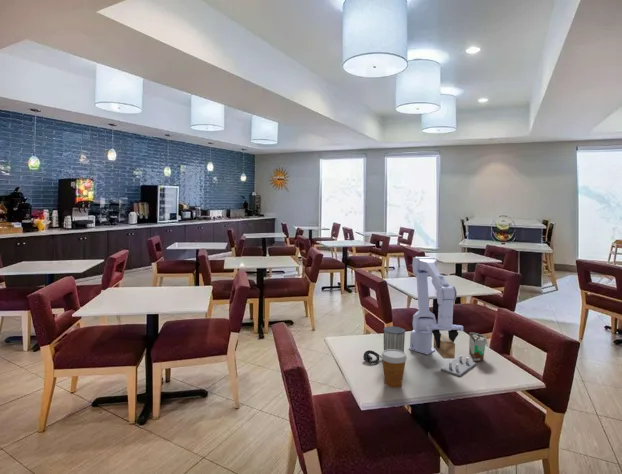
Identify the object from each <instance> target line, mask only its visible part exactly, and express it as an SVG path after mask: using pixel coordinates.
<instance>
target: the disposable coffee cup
mask: <svg viewBox="0 0 622 474" xmlns="http://www.w3.org/2000/svg"><path fill="white" fill-rule="evenodd" d="M380 356H381V357H382V358H381V357H380V358H381V359H382V366H383V367H382V368H383V369H382V371H383V377H384V384H385V385H386V386H387V387H388V388H391V389H392V388H395V389H396V388H401V387H402V385H403V378H404V372H405V368H406V367H405V366H406V362H407V359H408V357H407V353H406V352H405V351H404V352H403V351H400V350H396V349H387V350H384V349H383V351H382V353H381V355H380Z"/></svg>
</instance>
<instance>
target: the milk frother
mask: <svg viewBox="0 0 622 474" xmlns="http://www.w3.org/2000/svg"><path fill="white" fill-rule="evenodd" d="M405 336H406V329H405V328H402V327H400V326H389V325H388V326H385V327H384V328H383V351H384V350H387V349H396V350H400V351H403V352H405V342H406V341H405V339H406V338H405ZM371 355H373V356H375V357H376V359H374V360H373V357H372V356H371ZM380 359H382V357H381V355H380V354H379V353H377V352H375V351H374V350H372V349H371V350H366V351H364V353H363V360H364V361H365V362H367V363H369V364H378V363H379V361H380Z"/></svg>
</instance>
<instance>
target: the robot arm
mask: <svg viewBox="0 0 622 474" xmlns="http://www.w3.org/2000/svg"><path fill="white" fill-rule="evenodd" d="M412 273H413V275H414V276H416V287H417V304H418V306H417V307H418V310H417V311H416V312H415V313H414V314H413V315H412V323H411V324H412V329H413V330H411V333H410V337H409V338H410V339H409V348H408V349H409V350H411V351H414V352H416V353H417V352H418V353H420V354H421V353H422V354H424V355H428V354H431V353H433V352H434V351H436V350H435V348H434V347H433V348H432V346H433V339H434V338H435V341H436V347H437V348H440V338H441V334H442V333H441V332H442V331H445V332H446V331H448V338H449V339H450V340H452V341H453V342H454V343H455V340H456V339H457V337H458V336H459V332H458V331H460V332H464V326H463V325H462V324H461V325H460V324H453V320H454V319H453V316H454V315H453V314H454V301H456V299H457V296H458V295H457V290H456V287H455V286H454V285H452V284H450V283H449V282H448V280H447V279H446V277H445V276H444V275H443V274H441V273H440V271H439V270H438V261H437V258H436V257H435V256H414V258H413V260H412ZM429 276H430V277H431V284H432V285H433V287H434V289H435V291H436V292H435V293H436V299H437V304H438V307H437V308H438V309H437V311H438V312H437V319H436V316H435V313H433V312H432V311H430V297H429V285H428V284H429V282H428V277H429Z"/></svg>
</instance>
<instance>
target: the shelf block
mask: <svg viewBox="0 0 622 474" xmlns="http://www.w3.org/2000/svg"><path fill="white" fill-rule="evenodd" d="M433 349H435V351H436V352H437V353H438V354H439V355H440V357H442V358H443V359H456V358H455V355H456V353H455V352H456V343H455V341H454V342H453V341H452V340H450V339H449V336H447V335H446V334H445V333H441V338H440V348H437V347H436V341H435V338H434V337H433Z"/></svg>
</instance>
